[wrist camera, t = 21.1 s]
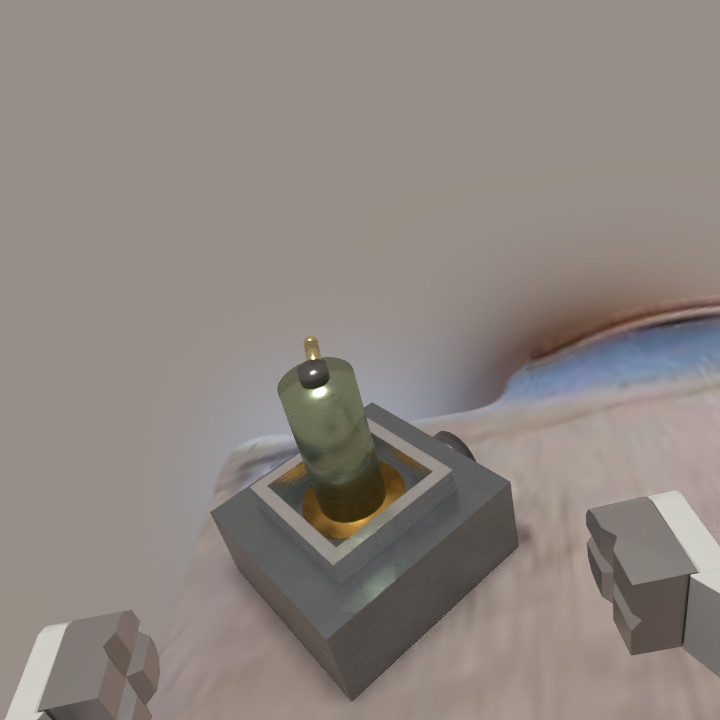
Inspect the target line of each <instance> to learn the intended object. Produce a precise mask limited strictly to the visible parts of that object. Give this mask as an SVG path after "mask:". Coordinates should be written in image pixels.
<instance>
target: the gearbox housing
mask: <svg viewBox="0 0 720 720" xmlns="http://www.w3.org/2000/svg"><path fill="white" fill-rule="evenodd" d="M364 410H365V414H366V418H367V421H368V425H369V428H370V432H371V436H372V439H373V443H374V446H375V450H376V454H377V457H378V461H379V464H380V468H381V472H382V475H383V479H384V483H385V486H386V497H385V500H384V502H383V504H382V505H381V507H380V508H379V509H378V510H377V511H376V512H375V513H373V514H372V515H370V516H369V517H367V518H365V519H363V520H360V521H356V522H351V523H340V522H335V521H332V520H330V519H328V518H327V517H326V516H325V515H324V514H323V513H322V511H321V509H320V507H319V504H318V501H317V499H316V496H315V493H314V490H313V488H312V485H311V482H310V479H309V477H308V474H307V471H306V468H305V466H304V463H303V460H302V457H301V455H300V452H298V453H297V454H295V455H294V456H292V457H291V458H289V459H288V460H286V461H285V462H284V463H282V464H281V465H279V466H278V467H276V468H275V469H273V470H272V471H270V472H269V473H267V474H266V475H264V476H263V477H261V478H260V479H259V480H257V481H256V482H254V483H253V484H251V485H250V486H248V487H247V488H245V489H244V490H242V491H241V492H239V493H238V494H236V495H235V496H234V497H232V498H231V499H229V500H228V501H226V502H225V503H223V504H222V505H220V506H219V507H217V508H216V509H214V510H213V511H211V512H210V513H211V515H212V517H213V519H214V521H215V523H216V525H217V527H218V529H219V531H220V533H221V535H222V537H223V539H224V541H225V543H226V545H227V547H228V549H229V551H230V553H231V555H232V557H233V559H234V561H235V563H236V565H237V568H238V569H239V571H240V572H241V573H242V574H243V575H244V576H245V578H246V579H247V580H248V581H249V582H250V583H251V585H252V586H253V587H254V588H255V589H256V590H257V592H258V593H259V594H260V595H261V596H262V597H263V598H264V600H265V601H266V602H267V603H268V604H269V605H270V607H271V608H272V609H273V610H274V611H275V612H276V614H277V615H278V616H279V617H280V618H281V619H282V621H283V622H284V623H285V624H286V625H287V626H288V628H289V629H290V630H291V631H292V632H293V633H294V635H295V636H296V637H297V638H298V639H299V640H300V641H301V643H302V644H303V645H304V646H305V647H306V648H307V650H308V651H309V652H310V653H311V654H312V655H313V657H314V658H315V659H316V660H317V661H318V662H319V664H320V665H321V666H322V667H323V668H324V669H325V671H326V672H327V673H328V674H329V675H330V676H331V678H332V679H333V680H334V681H335V682H336V683H337V685H338V686H339V687H340V688H341V689H342V690H343V691H344V693H345V694H346V695H347V696H348V697H349V698H350V700H351V701H353V700H354V699H355V698H356V697H357V696H358V695H359V694H360V693H361V692H362V691H363V690H364V689H365V688H367V687H368V686H369V685H370V684H371V683H372V682H373V681H374V680H375V679H376V678H377V677H378V676H379V675H380V674H382V673H383V672H384V671H385V670H386V669H387V668H388V667H389V666H390V665H391V664H392V663H393V662H394V661H395V660H397V659H398V658H399V657H400V656H401V655H402V654H403V653H404V652H405V651H406V650H407V649H408V648H409V647H411V646H412V645H413V644H414V643H415V642H416V641H417V640H418V639H419V638H420V637H421V636H422V635H423V634H424V633H426V632H427V631H428V630H429V629H430V628H431V627H432V626H433V625H434V624H435V623H436V622H437V621H438V620H439V619H441V618H442V617H443V616H444V615H445V614H446V613H447V612H448V611H449V610H450V609H451V608H452V607H453V606H455V605H456V604H457V603H458V602H459V601H460V600H461V599H462V598H463V597H464V596H465V595H466V594H467V593H468V592H470V591H471V590H472V589H473V588H474V587H475V586H476V585H477V584H478V583H479V582H480V581H481V580H482V579H483V578H485V577H486V576H487V575H488V574H489V573H490V572H491V571H492V570H493V569H494V568H495V567H496V566H497V565H498V564H500V563H501V562H502V561H503V560H504V559H505V558H506V557H507V556H508V555H509V554H510V553H511V552H512V551H514V550H515V549H516V548H517V547H518V539H517V531H516V523H515V515H514V508H513V500H512V492H511V484H510V481H508V480H506V479H504V478H503V477H501V476H499V475H497V474H496V473H494V472H492V471H490V470H489V469H487V468H485V467H484V466H482V465H480V464H478V463H477V462H476V460H475V458H474V456H473V455H472V453H471V451H470V450H469V449H468V447H467V446H466V445H465V444H464V443H463V442H462V441H461V440H460V439H459V438H458V437H456V436H455V435H453V434H451V433H449V432H446V431H440V432H438V433H437V434H436V435H434V436H433V437H431V436H430V435H428V434H426V433H424V432H423V431H421V430H419V429H417V428H416V427H414V426H412V425H411V424H409V423H407V422H405V421H404V420H402V419H400V418H398V417H396V416H395V415H393V414H391V413H389V412H388V411H386V410H384V409H383V408H381V407H379V406H377V405H376V404H374V403H370V404H369V405H367V406H366V407H365V408H364Z"/></svg>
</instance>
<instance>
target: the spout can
mask: <svg viewBox="0 0 720 720" xmlns="http://www.w3.org/2000/svg"><path fill="white" fill-rule="evenodd" d="M304 348H305V354H306V362H304V363H302V364H300V365H297V366H296V367H294V368H292V369H291V370H290V371H288V372H287V373H286V374H285V375H284V376H283V378H282V379H281V380H280V382H279V384H278V394H279V397H280V400H281V403H282V405H283V408H284V411H285V413H286V416H287V419H288V422H289V425H290V427H291V430H292V433H293V435H294V438H295V441H296V444H297V446H298V449H299V452H300V455H301V457H302V460H303V463H304V466H305V468H306V471H307V474H308V477H309V479H310V482H311V485H312V488H313V490H314V493H315V496H316V499H317V501H318V504H319V507H320V509H321V511H322V513H323V514H324V515H325V516H326V517H327V518H328V519H330V520H332V521H335V522H340V523H351V522H356V521H360V520H363V519H365V518H367V517H369V516H370V515H372V514H373V513H375V512H376V511H377V510H378V509H379V508H380V507H381V505H382V504H383V502H384V500H385V497H386V486H385V483H384V479H383V475H382V472H381V468H380V464H379V461H378V457H377V454H376V450H375V446H374V443H373V439H372V436H371V432H370V428H369V425H368V421H367V418H366V414H365V410H364V407H363V403H362V400H361V396H360V392H359V389H358V385H357V382H356V378H355V374H354V371H353V368H352V366H351V365H350V364H349V363H348V362H346V361H345V360H342V359H339V358H333V357H326V358H321V356H320V350H319V345H318V340H317V339H316V338H315V337H313V336H309V337H307V338H305V340H304Z"/></svg>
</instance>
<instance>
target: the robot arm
mask: <svg viewBox="0 0 720 720" xmlns="http://www.w3.org/2000/svg"><path fill="white" fill-rule="evenodd" d="M586 525H587V527H588V529H589V531H590V533H591V535H592V537H591V538H590V539H589V541H588V542H587V549H588V558H589V562H590V566H591V570H592V573H593V576H594V579H595V581H596V584H597V586H598V588H599V590H600V593H601V595H602V597H604V598H605V599H607V600H608V601H610V602H611V603H613V620H614V622H615V624H616V626H617V628H618V630H619V632H620V634H621V636H622V638H623V640H624V642H625V644H626V646H627V648H628V650H629V652H630V654H631V655H637V654H642V653H648V652H654V651H659V650H665V649H670V648H676V647H682V646H684V647H683V649H684V650H685V651H687V652H688V653H689V654H690V655H692V656H693V657H694V658H696V659H697V660H698V661H699V662H701V663H702V664H703V665H705V666H706V667H707V668H708V669H710V670H711V671H712V672H714V673H715V674H716V675H717V676H719V677H720V546H719V544H718V543H717V541H716V540H715V539H714V537H713V536H712V535H711V533H710V532H709V531H708V529H707V528H706V526H705V525H704V524H703V522H702V521H701V520H700V518H699V517H698V516H697V514H696V513H695V511H694V510H693V509H692V507H691V506H690V505H689V503H688V502H687V501H686V499H685V498H684V496H683V495H682V494H681V493H679V492H678V491H676V490H675V491H670V492H666V493H661V494H657V495H652V496H647V497H641V498H636V499H632V500H628V501H623V502H619V503H615V504H610V505H606V506H602V507H597V508H593V509H589V510H588V511H587V514H586ZM139 623H140V621H139V619H138V618H137V617H136V616H135V614H134V613H133V611H132V610H130V611H124V612H118V613H113V614H107V615H102V616H96V617H91V618H86V619H81V620H76V621H71V622H66V623H61V624H56V625H51V626H46V627H45V628H44V629H43V630H42V631H41V633H40V634H39V635H38V636H37V639H36V642H35V644H34V647H33V649H32V652H31V655H30V657H29V659H28V662H27V665H26V667H25V670H24V672H23V675H22V677H21V680H20V682H19V685H18V688H17V690H16V693H15V696H14V698H13V701H12V703H11V706H10V708H9V711H8V713H7V716H6V718H5V719H4V720H151V719H152V715H151V713H150V711H149V710H148V708H147V706H146V704H147V703H148V702H149V700H150V699H151V698H152V696H153V695H154V694H155V692H156V691H157V688H158V682H159V676H160V667H159V655H158V652H157V649H156V646H155V644H154V642H153V641H152V639H151V637H150V636H147V635H146V634H143V633H141V632H139V631H138V627H139Z"/></svg>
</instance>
